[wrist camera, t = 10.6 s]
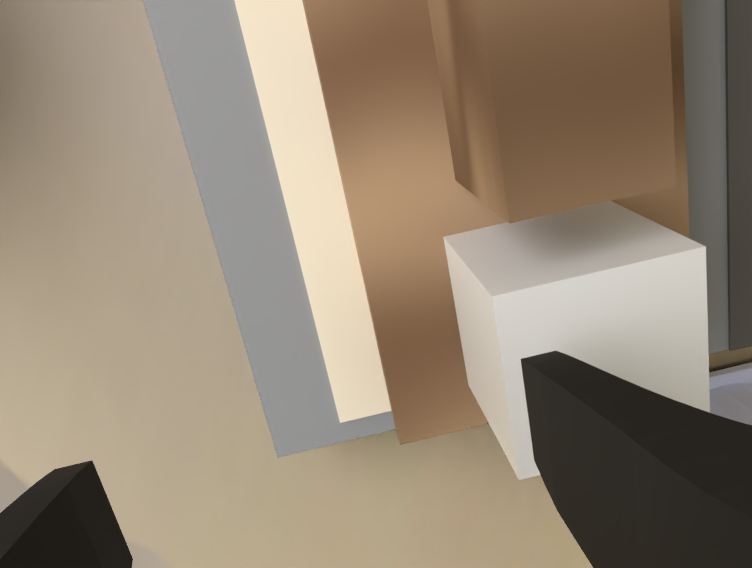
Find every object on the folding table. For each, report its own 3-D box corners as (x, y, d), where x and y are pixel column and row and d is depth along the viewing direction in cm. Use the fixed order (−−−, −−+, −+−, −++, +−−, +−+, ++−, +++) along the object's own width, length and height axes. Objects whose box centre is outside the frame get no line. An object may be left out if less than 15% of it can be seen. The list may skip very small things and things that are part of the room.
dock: (708, 304, 23) (768, 341, 20) (279, 405, 22) (277, 459, 19) (692, -401, 16) (778, -497, 14) (81, -290, 16) (34, -365, 13)
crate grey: (618, 349, 17) (710, 432, 14) (468, 384, 17) (519, 480, 13) (607, 199, 16) (705, 246, 12) (443, 236, 16) (491, 296, 12)
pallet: (655, 342, 20) (801, 460, 14) (389, 406, 19) (431, 553, 14) (614, -395, 14) (841, -701, 8) (229, -324, 13) (186, -593, 8)
